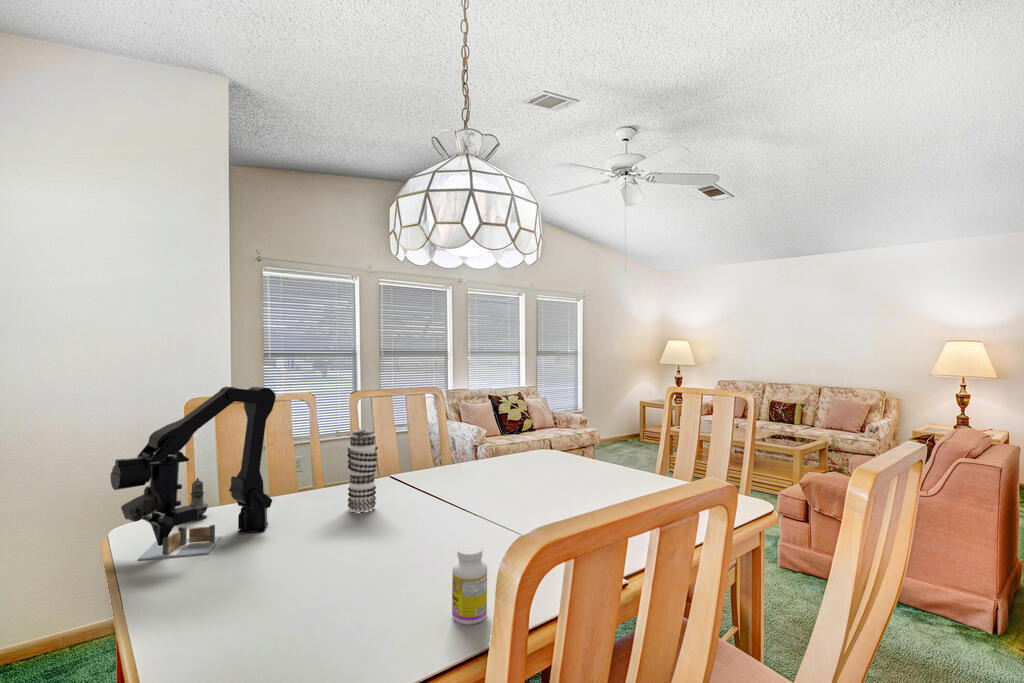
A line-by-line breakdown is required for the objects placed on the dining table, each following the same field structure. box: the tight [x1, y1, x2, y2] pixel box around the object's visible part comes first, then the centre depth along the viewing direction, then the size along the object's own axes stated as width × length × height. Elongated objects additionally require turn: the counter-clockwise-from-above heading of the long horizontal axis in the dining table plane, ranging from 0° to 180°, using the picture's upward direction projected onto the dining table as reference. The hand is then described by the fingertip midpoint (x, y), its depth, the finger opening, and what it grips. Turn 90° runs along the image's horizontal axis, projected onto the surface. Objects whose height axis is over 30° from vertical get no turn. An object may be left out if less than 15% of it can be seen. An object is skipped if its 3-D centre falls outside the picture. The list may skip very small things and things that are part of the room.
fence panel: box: [163, 531, 181, 554], centre depth 127 cm, size 6×1×4 cm, turn 3°
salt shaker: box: [188, 477, 209, 522], centre depth 153 cm, size 6×6×12 cm
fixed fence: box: [177, 524, 216, 546], centre depth 133 cm, size 8×2×5 cm, turn 106°
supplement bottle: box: [451, 544, 488, 626], centre depth 99 cm, size 7×7×13 cm
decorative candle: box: [347, 428, 379, 513], centre depth 163 cm, size 9×9×25 cm
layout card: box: [137, 535, 222, 561], centre depth 130 cm, size 15×11×1 cm
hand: (160, 545), depth 127 cm, fingers closed
